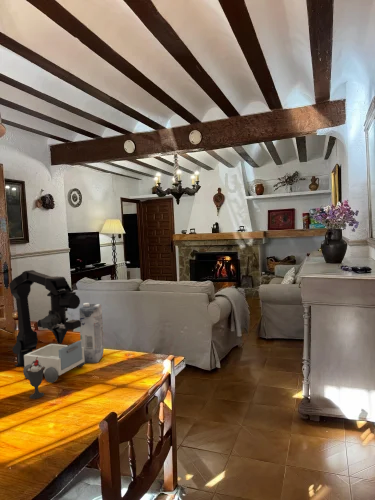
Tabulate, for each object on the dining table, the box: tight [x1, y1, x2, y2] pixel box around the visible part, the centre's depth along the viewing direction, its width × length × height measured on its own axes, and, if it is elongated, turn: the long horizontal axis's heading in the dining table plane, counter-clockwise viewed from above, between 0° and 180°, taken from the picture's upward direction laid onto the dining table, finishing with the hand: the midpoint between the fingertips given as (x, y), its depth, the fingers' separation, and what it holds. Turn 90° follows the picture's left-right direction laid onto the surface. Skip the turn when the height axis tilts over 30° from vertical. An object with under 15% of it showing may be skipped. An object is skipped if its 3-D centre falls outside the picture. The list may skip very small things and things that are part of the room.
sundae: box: [26, 357, 45, 400], centre depth 132 cm, size 7×7×15 cm
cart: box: [23, 343, 86, 384], centre depth 154 cm, size 18×18×10 cm
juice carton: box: [79, 302, 104, 364], centre depth 168 cm, size 9×10×27 cm
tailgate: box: [59, 340, 82, 370], centre depth 150 cm, size 2×13×8 cm, turn 159°
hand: (59, 343), depth 152 cm, fingers closed
